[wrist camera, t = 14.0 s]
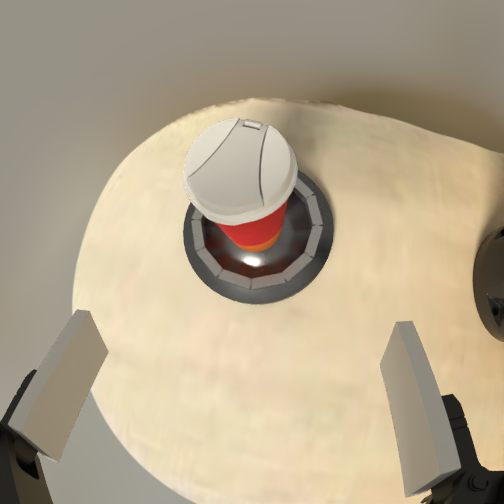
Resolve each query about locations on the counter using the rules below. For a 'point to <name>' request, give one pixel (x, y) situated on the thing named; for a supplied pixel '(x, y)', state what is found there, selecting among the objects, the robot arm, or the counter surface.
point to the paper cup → (242, 180)
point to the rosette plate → (264, 251)
